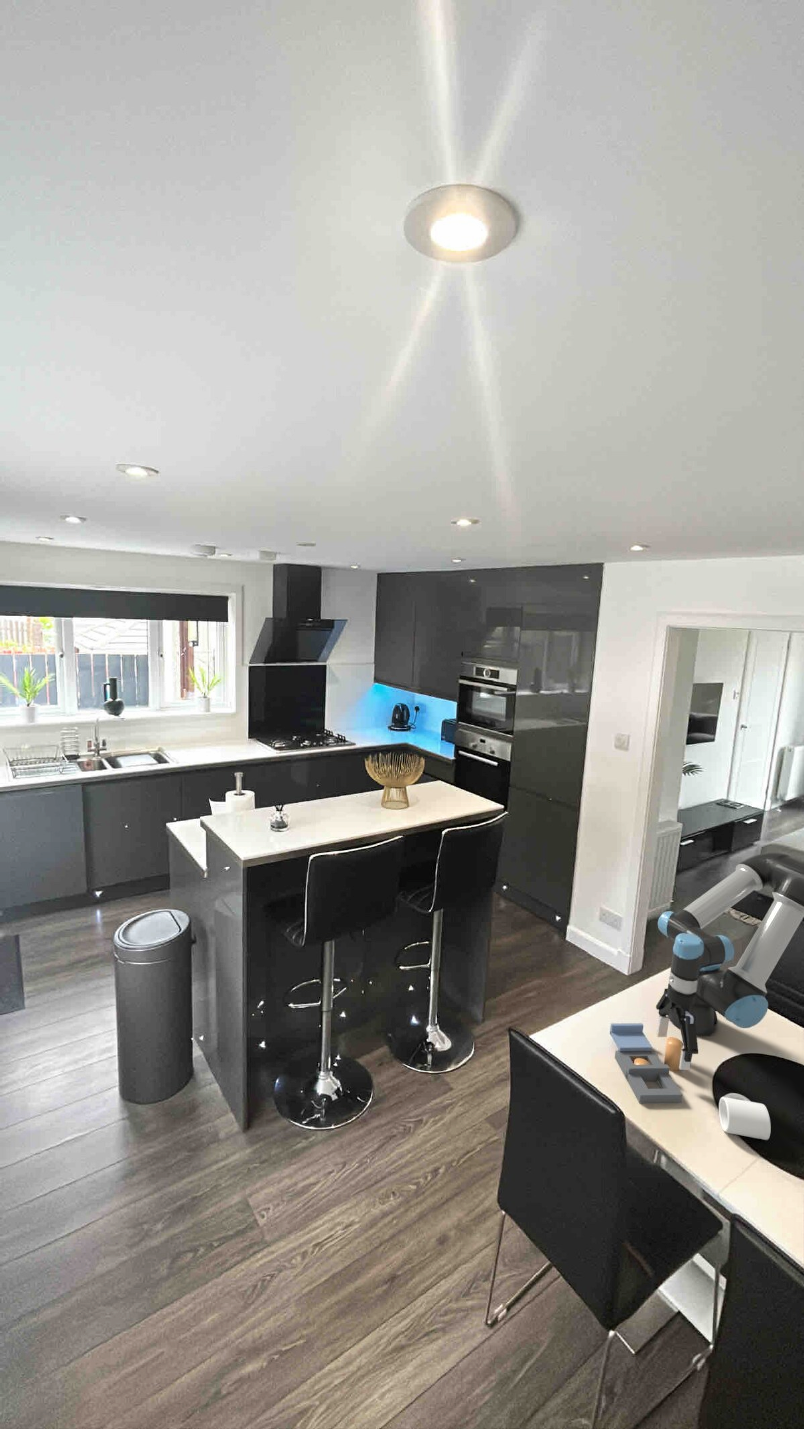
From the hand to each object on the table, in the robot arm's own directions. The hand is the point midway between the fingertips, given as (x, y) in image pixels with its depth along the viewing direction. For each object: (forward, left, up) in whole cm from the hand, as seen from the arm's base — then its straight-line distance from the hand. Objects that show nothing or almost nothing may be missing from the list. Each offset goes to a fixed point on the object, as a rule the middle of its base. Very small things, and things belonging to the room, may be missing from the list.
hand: (672, 1052), depth 183 cm
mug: (-8, +21, -5) cm, 23 cm away
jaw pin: (0, 0, -5) cm, 5 cm away
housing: (+10, +5, -5) cm, 12 cm away
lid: (+10, -7, -2) cm, 12 cm away
